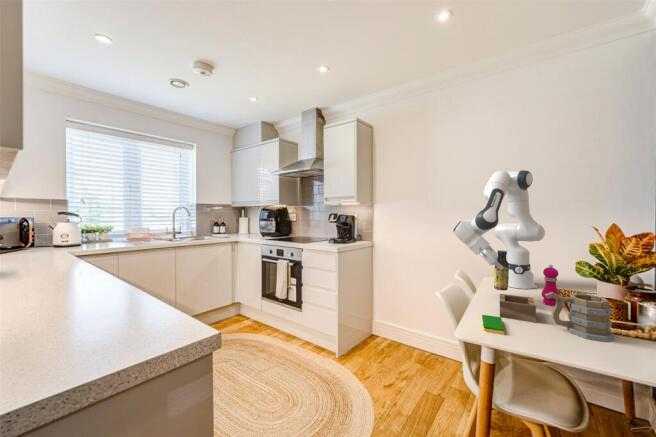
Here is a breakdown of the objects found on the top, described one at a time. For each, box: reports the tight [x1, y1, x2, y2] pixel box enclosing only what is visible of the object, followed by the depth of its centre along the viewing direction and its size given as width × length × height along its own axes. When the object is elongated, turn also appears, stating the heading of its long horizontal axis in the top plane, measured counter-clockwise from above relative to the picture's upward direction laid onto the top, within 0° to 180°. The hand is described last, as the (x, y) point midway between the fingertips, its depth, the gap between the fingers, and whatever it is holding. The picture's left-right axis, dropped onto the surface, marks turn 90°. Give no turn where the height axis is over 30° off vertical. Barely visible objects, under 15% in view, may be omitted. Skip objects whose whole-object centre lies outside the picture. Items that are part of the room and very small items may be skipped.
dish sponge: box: [481, 314, 505, 336], centre depth 114 cm, size 7×14×2 cm, turn 152°
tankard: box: [545, 292, 615, 342], centre depth 107 cm, size 20×13×15 cm, turn 64°
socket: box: [499, 293, 537, 324], centre depth 125 cm, size 13×13×7 cm
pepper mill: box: [541, 264, 561, 307], centre depth 136 cm, size 7×7×20 cm
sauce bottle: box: [493, 249, 509, 292], centre depth 138 cm, size 6×6×20 cm
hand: (502, 267), depth 138 cm, fingers closed on sauce bottle, 6 cm apart
